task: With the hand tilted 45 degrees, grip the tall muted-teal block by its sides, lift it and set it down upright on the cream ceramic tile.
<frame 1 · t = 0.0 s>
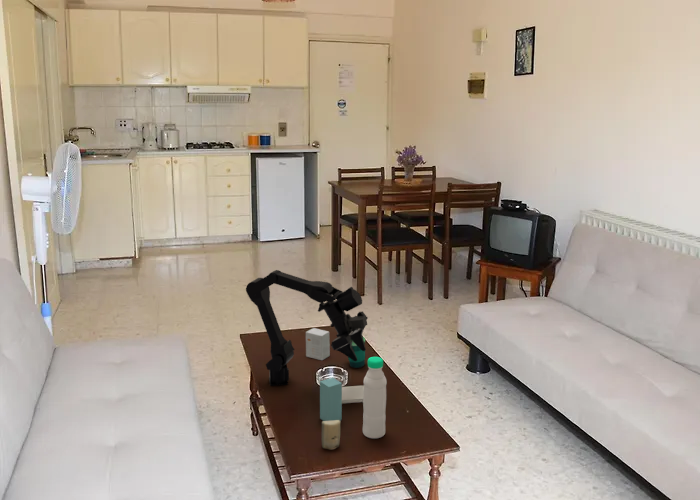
hand: (360, 355, 221), 15 cm above the table, tool tilted 35°, fingers open, 9 cm apart
cream tile: (353, 395, 224), on the table
cup: (354, 366, 249), on the table
water bottle: (374, 434, 200), on the table
power adapter: (331, 446, 192), on the table
teal block: (330, 419, 208), on the table
small box: (317, 356, 257), on the table
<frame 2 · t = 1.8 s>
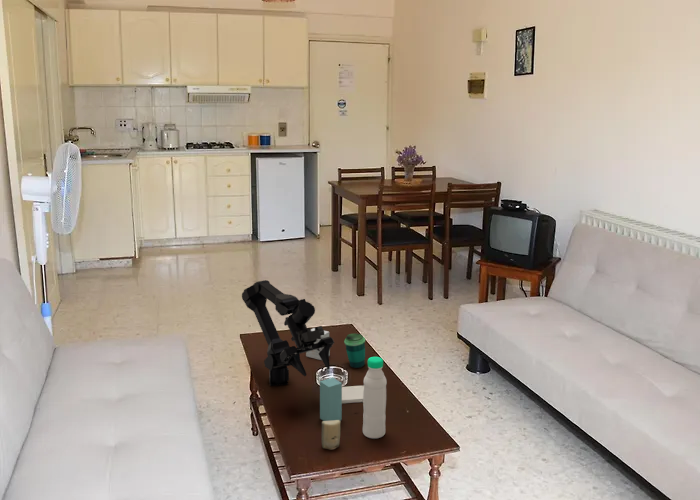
hand: (317, 372, 211), 13 cm above the table, tool tilted 45°, fingers open, 9 cm apart
nothing on the table moved.
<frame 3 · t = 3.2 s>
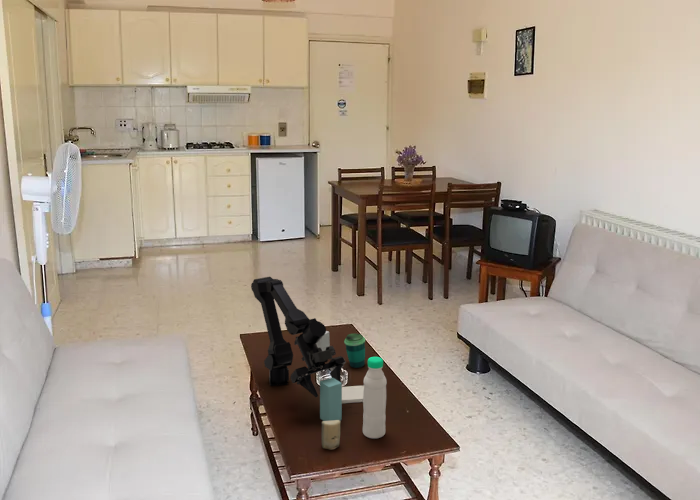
hand: (328, 393, 207), 9 cm above the table, tool tilted 45°, fingers open, 9 cm apart
nothing on the table moved.
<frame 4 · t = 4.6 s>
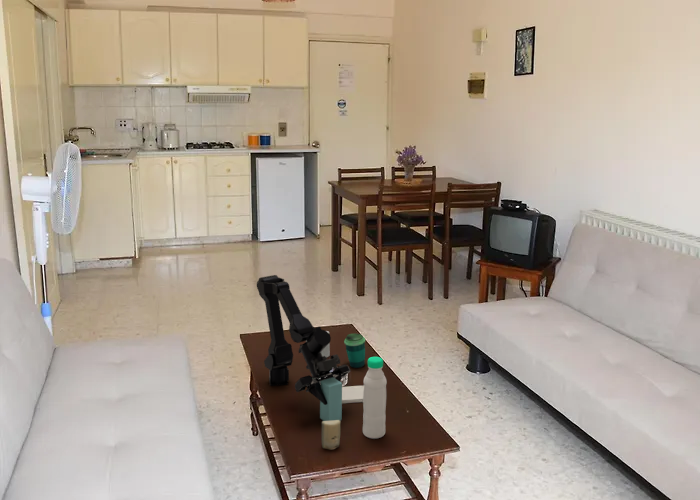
hand: (333, 402, 205), 7 cm above the table, tool tilted 45°, fingers closed on teal block, 5 cm apart
teal block: (330, 419, 208), on the table, touching gripper
everything else where it was.
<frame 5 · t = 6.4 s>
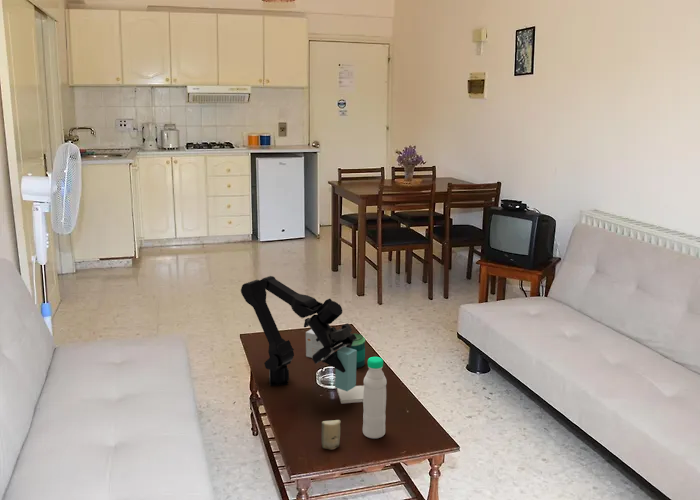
hand: (349, 369, 214), 13 cm above the table, tool tilted 45°, fingers closed on teal block, 5 cm apart
teal block: (345, 386, 216), point 7 cm above the table, touching gripper
everything else where it was.
when the fingers open (9 cm above the table, at t = 8.2 s): teal block drops 1 cm, resting on cream tile.
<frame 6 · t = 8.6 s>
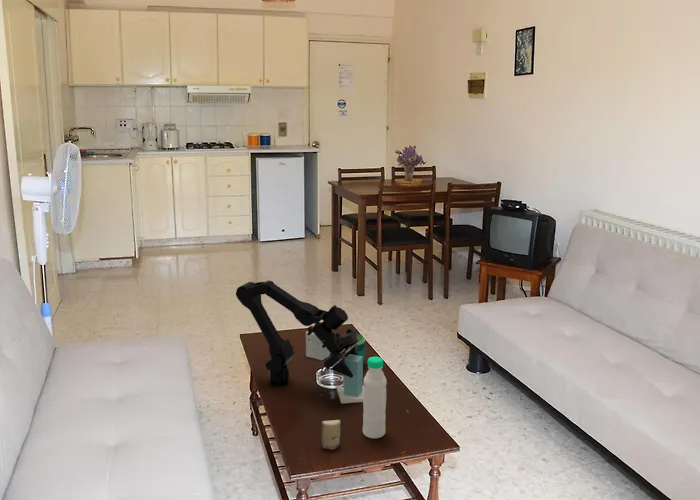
hand: (357, 371, 221), 9 cm above the table, tool tilted 45°, fingers open, 9 cm apart
teal block: (353, 392, 224), point 1 cm above the table, touching cream tile
everything else where it was.
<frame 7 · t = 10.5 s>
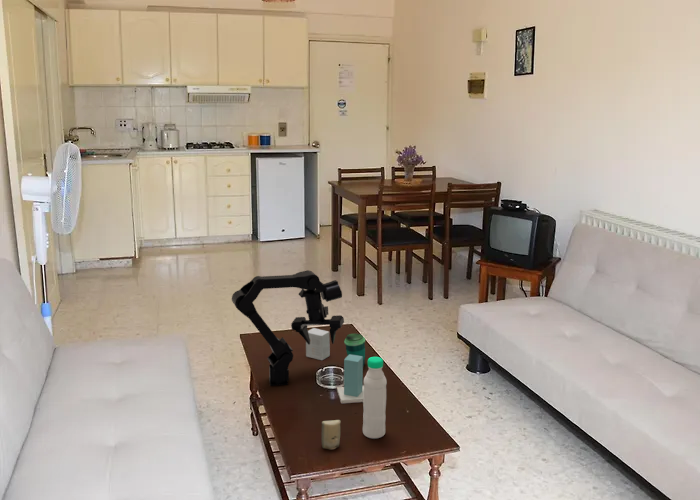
hand: (321, 343, 237), 13 cm above the table, tool pointing down, fingers open, 9 cm apart
nothing on the table moved.
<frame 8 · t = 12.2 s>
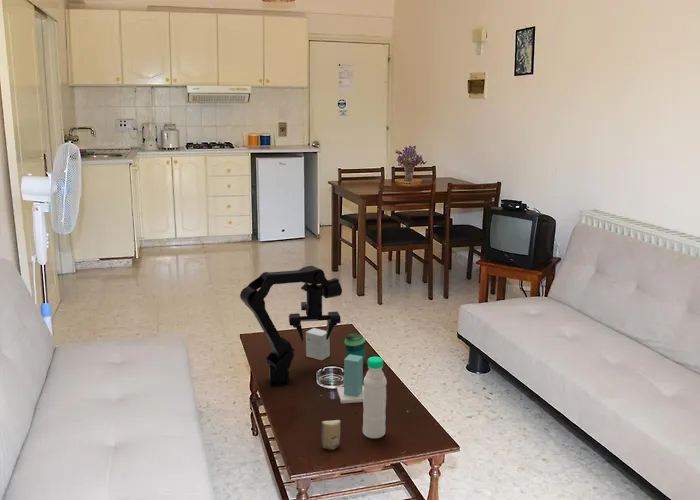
hand: (314, 340, 239), 13 cm above the table, tool pointing down, fingers open, 9 cm apart
nothing on the table moved.
at the end: teal block inside the target area on the cream tile (0.0 cm from its centre), point 1.2 cm above the cream tile's base; teal block tilted 0°; the gripper is holding nothing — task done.
